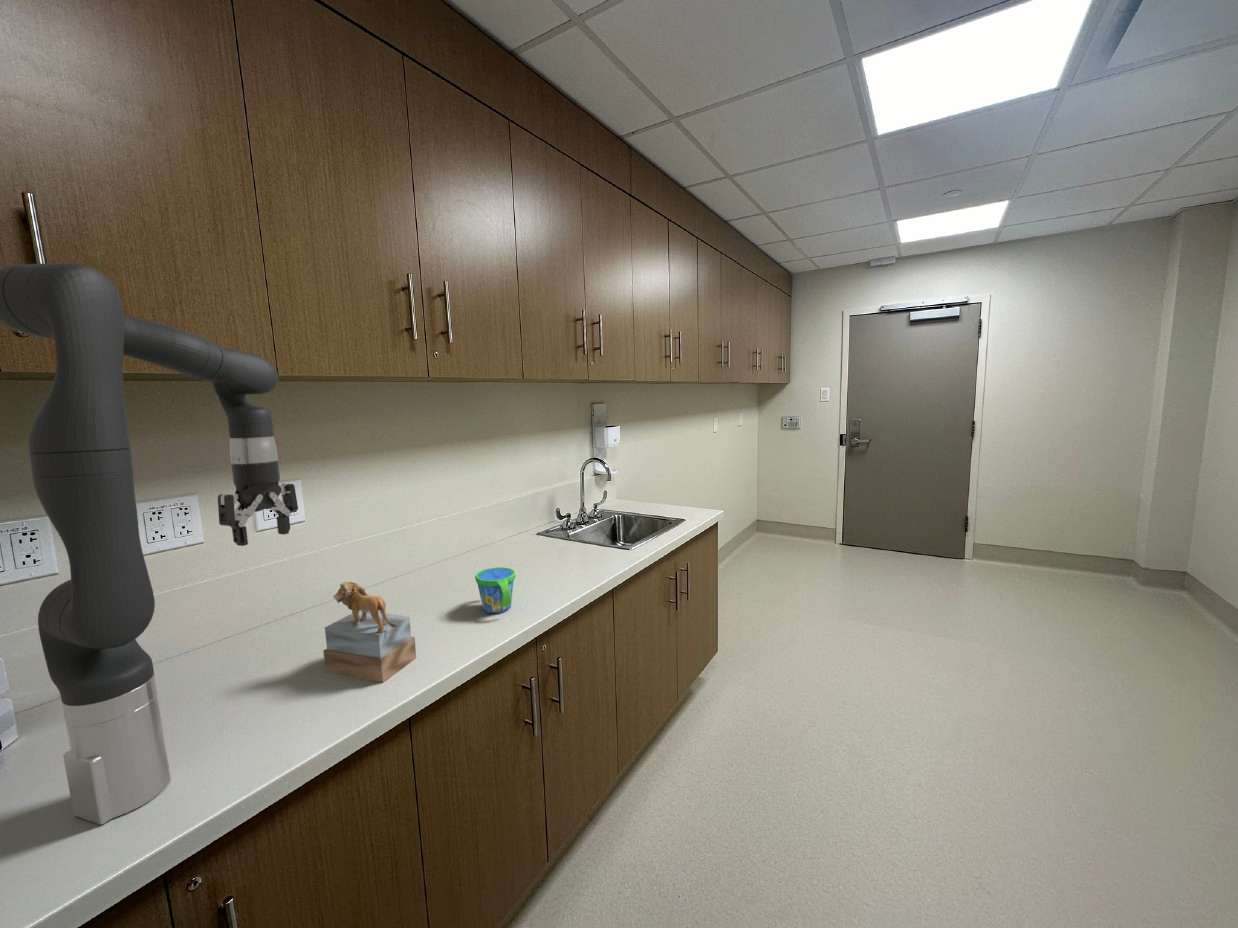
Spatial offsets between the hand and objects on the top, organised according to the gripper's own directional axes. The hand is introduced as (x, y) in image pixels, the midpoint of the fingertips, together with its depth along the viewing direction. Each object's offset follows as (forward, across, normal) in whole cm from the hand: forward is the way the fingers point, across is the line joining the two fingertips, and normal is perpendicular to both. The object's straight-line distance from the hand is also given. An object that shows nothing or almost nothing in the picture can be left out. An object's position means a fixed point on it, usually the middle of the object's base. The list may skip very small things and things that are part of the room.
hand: (263, 539), depth 99 cm
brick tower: (+30, +9, -15) cm, 35 cm away
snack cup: (+30, +42, -27) cm, 58 cm away
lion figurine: (+20, +8, -16) cm, 27 cm away
